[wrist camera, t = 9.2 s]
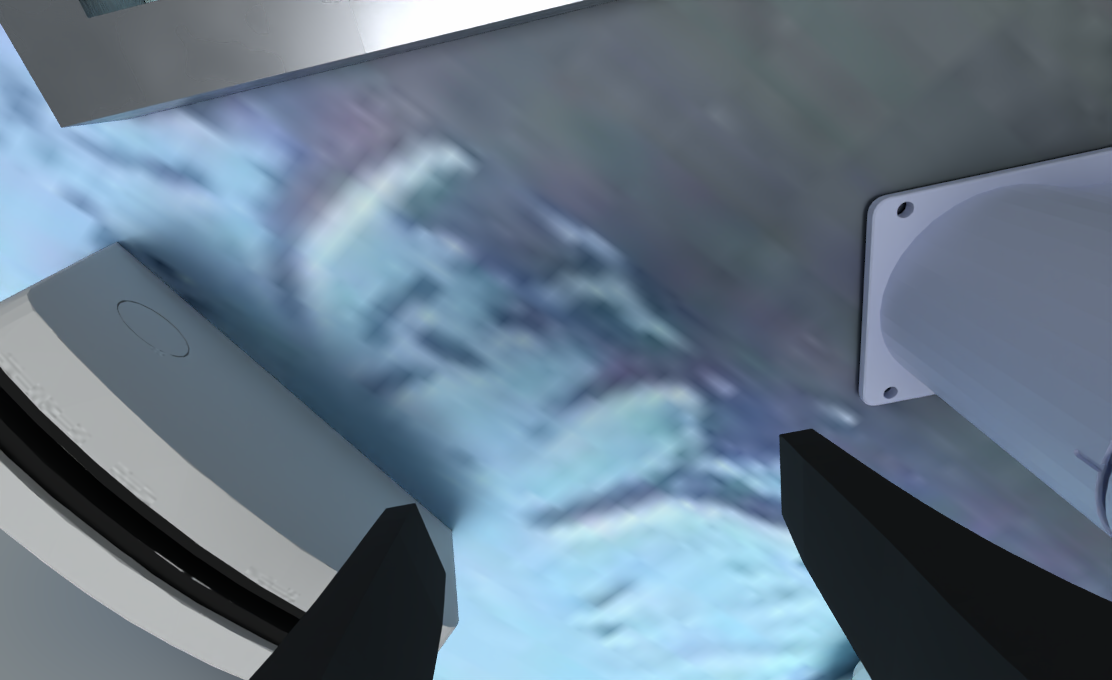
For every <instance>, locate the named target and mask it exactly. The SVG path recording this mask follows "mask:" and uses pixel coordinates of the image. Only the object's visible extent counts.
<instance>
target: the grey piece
mask: <svg viewBox="0 0 1112 680" xmlns="http://www.w3.org/2000/svg"><path fill="white" fill-rule="evenodd" d="M411 503H416V505H417V508H418V510H419V512H420V515H421V517H422V519H423V521H424V524H425V526H426V528H427V531H428V533H429V535H430V538H431V540H432V542H433V544H434V547H435V549H436V551H437V554H438V556H439V558H440V560H441V563H442V565H443V567H444V570H445V572H446V584H445V602H444V614H443V626H442V632H441V637H440V643H439V648H438V651H439V650H440V648H441V647H442V646H443V644H444V643H445V641H446V640H447V639H448V637H449V636H450V634H451V633H452V632H453V630H454V629H455V627H456V626H457V624H458V621H459V617H458V604H457V591H456V578H455V565H454V552H453V539H452V531H451V530H450V529H449V528H448V527H447V526H445V525H444V524H443V523H442V522H441V521H440V520H438V519H437V518H436V517H435V516H434V515H433V514H432V513H430V512H429V511H428V510H427V509H426V508H425V507H423V506H422V505H421V504H420V503H419V502H418V501H416V500H415V499H414V498H413V497H412V496H411V495H410V494H408V493H407V492H406V491H405V490H404V489H403V488H401V487H400V486H399V485H398V484H397V483H396V482H394V481H393V480H392V479H391V478H390V477H389V476H387V475H386V474H385V473H384V472H383V471H382V470H381V469H379V468H378V467H377V466H376V465H375V464H374V463H372V462H371V461H370V460H369V459H368V458H367V457H365V456H364V455H363V454H362V453H361V452H360V451H359V450H357V449H356V448H355V447H354V446H353V445H352V444H350V443H349V442H348V441H347V440H346V439H345V438H343V437H342V436H341V435H340V434H339V433H338V432H336V431H335V430H334V429H333V428H332V427H331V426H330V425H328V424H327V423H326V422H325V421H324V420H323V419H321V418H320V417H319V416H318V415H317V414H316V413H314V412H313V411H312V410H311V409H310V408H309V407H308V406H306V405H305V404H304V403H303V402H302V401H301V400H299V399H298V398H297V397H296V396H295V395H294V394H292V393H291V392H290V391H289V390H288V389H287V388H285V387H284V386H283V385H282V384H281V383H280V382H279V381H277V380H276V379H275V378H274V377H273V376H272V375H270V374H269V373H268V372H267V371H266V370H265V369H263V368H262V367H261V366H260V365H259V364H258V363H257V362H255V361H254V360H253V359H252V358H251V357H250V356H248V355H247V354H246V353H245V352H244V351H243V350H241V349H240V348H239V347H238V346H237V345H236V344H234V343H233V342H232V341H231V340H230V339H229V338H228V337H226V336H225V335H224V334H223V333H222V332H221V331H219V330H218V329H217V328H216V327H215V326H214V325H212V324H211V323H210V322H209V321H208V320H207V319H206V318H204V317H203V316H202V315H201V314H200V313H199V312H197V311H196V310H195V309H194V308H193V307H192V306H190V305H189V304H188V303H187V302H186V301H185V300H183V299H182V298H181V297H180V296H179V295H178V294H177V293H175V292H174V291H173V290H172V289H171V288H170V287H168V286H167V285H166V284H165V283H164V282H163V281H161V280H160V279H159V278H158V277H157V276H156V275H154V274H153V273H152V272H151V271H150V270H149V269H148V268H146V267H145V266H144V265H143V264H142V263H141V262H139V261H138V260H137V259H136V258H135V257H134V256H132V255H131V254H130V253H129V252H128V251H127V250H126V249H124V248H123V247H122V246H121V245H120V244H119V243H117V242H116V243H114V244H112V245H110V246H108V247H106V248H104V249H102V250H100V251H98V252H95V253H93V254H91V255H89V256H87V257H85V258H83V259H81V260H79V261H78V262H76V263H74V264H72V265H70V266H68V267H66V268H64V269H62V270H60V271H58V272H57V273H55V274H53V275H51V276H49V277H47V278H45V279H43V280H41V281H39V282H37V283H35V284H34V285H32V286H30V287H28V288H26V289H24V290H22V291H20V292H18V293H16V294H14V295H13V296H11V297H9V298H7V299H5V300H3V301H1V302H0V528H1V529H2V530H3V531H4V532H6V533H7V534H8V535H10V536H11V537H12V538H14V539H15V540H16V541H17V542H18V543H20V544H21V545H22V546H24V547H25V548H26V549H27V550H29V551H30V552H31V553H33V554H34V555H35V556H37V557H38V558H39V559H40V560H42V561H43V562H44V563H45V564H47V565H48V566H49V567H51V568H52V569H54V570H55V571H56V572H58V573H59V574H60V575H62V576H63V577H64V578H66V579H67V580H68V581H70V582H71V583H73V584H74V585H75V586H77V587H78V588H79V589H81V590H82V591H83V592H85V593H86V594H88V595H89V596H91V597H92V598H94V599H96V600H97V601H99V602H100V603H102V604H103V605H105V606H106V607H108V608H109V609H111V610H112V611H114V612H115V613H117V614H119V615H120V616H122V617H123V618H125V619H126V620H128V621H130V622H131V623H133V624H135V625H137V626H138V627H140V628H142V629H144V630H146V631H147V632H149V633H151V634H153V635H154V636H156V637H158V638H160V639H161V640H163V641H165V642H167V643H169V644H170V645H172V646H174V647H176V648H178V649H180V650H182V651H184V652H186V653H188V654H190V655H192V656H194V657H196V658H198V659H200V660H202V661H203V662H206V663H207V664H209V665H211V666H213V667H216V668H218V669H221V670H223V671H225V672H228V673H230V674H232V675H235V676H238V677H240V678H242V679H244V680H249V679H250V677H251V676H252V675H253V674H254V673H255V672H256V671H257V670H258V669H259V668H260V666H261V665H262V664H263V663H264V662H265V661H266V660H267V659H268V657H269V656H270V655H271V654H272V653H273V652H274V650H275V649H276V648H277V647H278V646H279V644H280V643H281V642H282V641H283V640H284V638H285V637H286V636H287V635H288V634H289V632H290V631H291V630H292V629H293V628H294V626H295V625H296V624H297V623H298V622H299V620H300V619H301V618H302V617H303V615H304V614H305V613H306V612H307V611H308V609H309V608H310V607H311V606H312V605H313V603H314V602H315V601H316V600H317V598H318V597H319V596H320V595H321V593H322V592H323V591H324V589H325V588H326V587H327V585H328V584H329V583H330V581H331V580H332V579H333V578H334V576H335V575H336V574H337V572H338V571H339V570H340V568H341V567H342V566H343V565H344V563H345V562H346V561H347V559H348V558H349V557H350V555H351V554H352V553H353V551H354V550H355V549H356V547H357V546H358V545H359V543H360V542H361V541H362V539H363V538H364V536H365V535H366V534H367V532H368V531H369V530H370V528H371V527H372V526H373V524H374V523H375V522H376V521H377V519H378V518H379V517H380V515H381V514H382V513H383V512H384V510H385V509H386V508H390V507H395V506H401V505H406V504H411Z"/></svg>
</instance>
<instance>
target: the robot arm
mask: <svg viewBox="0 0 1112 680" xmlns="http://www.w3.org/2000/svg"><path fill="white" fill-rule="evenodd" d="M904 202H906V208H905V210H904V211H903V212H902V213H901V214H899V215H897V210H898V207H899V206H900V205H901V204H902V203H904ZM889 387H891V389H890V390H889V391H888V392H885V393H884V391H885V390H886V389H887V388H889ZM934 394H936V395H938V396H939V397H940V398H941V399H943V400H944V401H945V402H946V403H947V404H949V405H950V406H951V407H952V408H954V409H955V410H956V411H957V412H958V413H960V414H961V415H962V416H963V417H965V418H966V419H967V420H968V421H969V422H971V423H972V424H973V425H974V426H976V427H977V428H978V429H979V430H980V431H982V432H983V433H984V434H985V435H987V436H988V437H989V438H990V439H991V440H993V441H994V442H995V443H996V444H998V445H999V446H1000V447H1001V448H1002V449H1004V450H1005V451H1006V452H1007V453H1009V454H1010V455H1011V456H1012V457H1014V458H1015V459H1016V460H1017V461H1018V462H1020V463H1021V464H1022V465H1023V466H1025V467H1026V468H1027V469H1028V470H1029V471H1031V472H1032V473H1033V474H1034V475H1036V476H1037V477H1038V478H1039V479H1040V480H1042V481H1043V482H1044V483H1045V484H1047V485H1048V486H1049V487H1050V488H1051V489H1053V490H1054V491H1055V492H1056V493H1058V494H1059V495H1060V496H1061V497H1062V498H1064V499H1065V500H1066V501H1067V502H1069V503H1070V504H1071V505H1072V506H1073V507H1075V508H1076V509H1077V510H1078V511H1080V512H1081V513H1082V514H1083V515H1084V516H1086V517H1087V518H1088V519H1089V520H1091V521H1092V522H1093V523H1094V524H1096V525H1097V526H1098V527H1099V528H1100V529H1102V530H1103V531H1104V532H1105V533H1107V534H1108V535H1109V536H1110V537H1111V538H1112V147H1109V148H1104V149H1100V150H1095V151H1090V152H1085V153H1081V154H1076V155H1071V156H1067V157H1062V158H1057V159H1053V160H1048V161H1043V162H1038V163H1034V164H1029V165H1024V166H1020V167H1015V168H1010V169H1005V170H1001V171H996V172H991V173H987V174H982V175H977V176H973V177H968V178H963V179H958V180H954V181H949V182H944V183H940V184H935V185H930V186H926V187H921V188H916V189H911V190H907V191H902V192H897V193H893V194H888V195H884V196H881V197H879V198H877V199H876V200H875V201H873V202H872V204H871V205H870V207H869V210H868V214H867V233H866V253H865V274H864V294H863V314H862V334H861V355H860V375H859V397H860V398H861V399H862V400H863V401H864V402H865V403H866V404H867V405H870V406H876V405H881V404H886V403H892V402H897V401H902V400H908V399H913V398H918V397H924V396H929V395H934ZM779 438H780V471H781V504H782V515H783V518H784V520H785V522H786V525H787V527H788V529H789V532H790V534H791V536H792V539H793V541H794V543H795V545H796V548H797V550H798V552H799V554H800V556H801V559H802V561H803V563H804V565H805V567H806V568H807V570H808V572H809V574H810V575H811V577H812V579H813V581H814V582H815V584H816V586H817V588H818V589H819V591H820V593H821V594H822V596H823V598H824V600H825V601H826V603H827V605H828V606H829V608H830V610H831V612H832V613H833V615H834V617H835V618H836V620H837V622H838V623H839V625H840V627H841V628H842V630H843V632H844V634H845V635H846V637H847V639H848V640H849V642H850V644H851V645H852V647H853V649H854V651H855V652H856V654H857V656H858V657H859V659H860V661H861V662H862V664H863V666H864V668H865V669H866V671H867V673H868V674H869V676H870V678H871V679H872V680H1112V602H1111V601H1109V600H1106V599H1104V598H1102V597H1100V596H1098V595H1095V594H1093V593H1091V592H1089V591H1087V590H1085V589H1083V588H1080V587H1078V586H1076V585H1074V584H1072V583H1070V582H1068V581H1066V580H1064V579H1062V578H1060V577H1058V576H1056V575H1054V574H1052V573H1050V572H1048V571H1046V570H1044V569H1042V568H1040V567H1038V566H1036V565H1034V564H1032V563H1030V562H1028V561H1026V560H1024V559H1022V558H1020V557H1018V556H1016V555H1014V554H1012V553H1010V552H1008V551H1006V550H1005V549H1003V548H1001V547H999V546H997V545H995V544H993V543H992V542H990V541H988V540H986V539H984V538H982V537H981V536H979V535H977V534H976V533H974V532H972V531H970V530H969V529H967V528H965V527H963V526H962V525H960V524H958V523H956V522H955V521H953V520H951V519H949V518H948V517H946V516H944V515H943V514H941V513H939V512H938V511H936V510H934V509H933V508H931V507H929V506H928V505H926V504H924V503H923V502H921V501H920V500H918V499H917V498H915V497H913V496H912V495H910V494H909V493H907V492H906V491H904V490H902V489H901V488H899V487H898V486H896V485H895V484H893V483H891V482H890V481H888V480H887V479H885V478H884V477H882V476H881V475H879V474H878V473H876V472H875V471H873V470H872V469H870V468H869V467H867V466H866V465H864V464H863V463H862V462H860V461H859V460H857V459H856V458H854V457H853V456H851V455H850V454H848V453H847V452H845V451H844V450H842V449H841V448H840V447H838V446H837V445H835V444H834V443H832V442H831V441H829V440H828V439H826V438H825V437H823V436H822V435H821V434H819V433H818V432H816V431H815V430H813V429H807V430H802V431H797V432H791V433H786V434H780V435H779ZM445 584H446V572H445V570H444V567H443V565H442V563H441V560H440V558H439V556H438V554H437V551H436V549H435V547H434V544H433V542H432V540H431V538H430V535H429V533H428V531H427V528H426V526H425V524H424V521H423V519H422V517H421V515H420V512H419V510H418V508H417V505H416V503H411V504H406V505H401V506H395V507H390V508H386V509H385V510H384V512H383V513H382V514H381V515H380V517H379V518H378V519H377V521H376V522H375V523H374V524H373V526H372V527H371V528H370V530H369V531H368V532H367V534H366V535H365V536H364V538H363V539H362V541H361V542H360V543H359V545H358V546H357V547H356V549H355V550H354V551H353V553H352V554H351V555H350V557H349V558H348V559H347V561H346V562H345V563H344V565H343V566H342V567H341V568H340V570H339V571H338V572H337V574H336V575H335V576H334V578H333V579H332V580H331V581H330V583H329V584H328V585H327V587H326V588H325V589H324V591H323V592H322V593H321V595H320V596H319V597H318V598H317V600H316V601H315V602H314V603H313V605H312V606H311V607H310V608H309V609H308V611H307V612H306V613H305V614H304V615H303V617H302V618H301V619H300V620H299V622H298V623H297V624H296V625H295V626H294V628H293V629H292V630H291V631H290V632H289V634H288V635H287V636H286V637H285V638H284V640H283V641H282V642H281V643H280V644H279V646H278V647H277V648H276V649H275V650H274V652H273V653H272V654H271V655H270V656H269V657H268V659H267V660H266V661H265V662H264V663H263V664H262V665H261V666H260V668H259V669H258V670H257V671H256V672H255V673H254V674H253V675H252V676H251V677H250V679H249V680H433V675H434V670H435V665H436V659H437V654H438V648H439V643H440V637H441V632H442V626H443V614H444V602H445Z"/></svg>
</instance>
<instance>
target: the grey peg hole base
mask: <svg viewBox="0 0 1112 680" xmlns="http://www.w3.org/2000/svg"><path fill="white" fill-rule="evenodd" d="M613 1H617V0H157V1H153V2H150V3H146V4H145V3H144V1H143V0H0V23H1V25H2V27H3V28H4V30H5V32H6V34H7V35H8V37H9V39H10V40H11V42H12V44H13V46H14V47H15V49H16V51H17V52H18V54H19V56H20V58H21V59H22V61H23V63H24V64H25V66H26V68H27V70H28V71H29V73H30V75H31V76H32V78H33V80H34V81H35V83H36V85H37V87H38V88H39V90H40V92H41V93H42V95H43V97H44V99H45V100H46V102H47V104H48V105H49V107H50V109H51V111H52V112H53V114H54V116H55V117H56V119H57V121H58V122H59V124H60V126H61V128H63V127H71V126H79V125H87V124H94V123H102V122H110V121H118V120H126V119H131V118H135V117H140V116H144V115H148V114H152V113H156V112H160V111H164V110H168V109H172V108H177V107H181V106H185V105H189V104H193V103H197V102H201V101H205V100H209V99H214V98H218V97H222V96H226V95H230V94H234V93H238V92H242V91H246V90H251V89H255V88H259V87H263V86H267V85H271V84H275V83H279V82H284V81H288V80H292V79H296V78H300V77H304V76H308V75H312V74H316V73H321V72H325V71H329V70H333V69H337V68H341V67H345V66H349V65H353V64H358V63H362V62H366V61H370V60H374V59H378V58H382V57H386V56H390V55H395V54H399V53H403V52H407V51H411V50H415V49H419V48H423V47H427V46H432V45H436V44H440V43H444V42H448V41H452V40H456V39H460V38H464V37H469V36H473V35H477V34H481V33H485V32H489V31H493V30H497V29H502V28H506V27H510V26H514V25H518V24H522V23H526V22H530V21H534V20H539V19H543V18H547V17H551V16H555V15H559V14H563V13H567V12H571V11H576V10H580V9H584V8H588V7H592V6H596V5H600V4H604V3H608V2H613Z"/></svg>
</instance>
